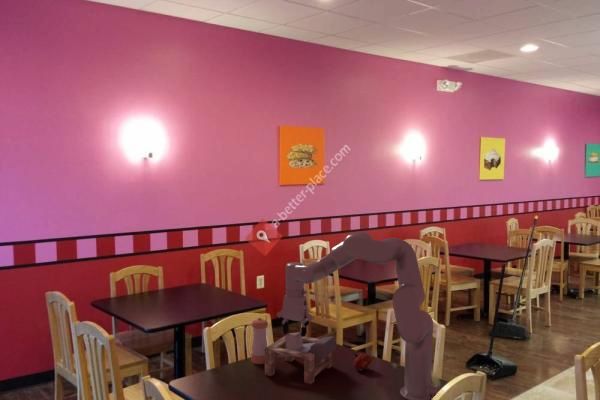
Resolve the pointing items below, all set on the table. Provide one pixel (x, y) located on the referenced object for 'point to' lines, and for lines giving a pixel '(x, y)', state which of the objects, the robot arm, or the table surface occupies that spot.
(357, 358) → the pomegranate
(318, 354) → the trapdoor
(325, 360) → the trapdoor frame
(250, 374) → the table surface
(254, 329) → the pepper shaker
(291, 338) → the granite stone
